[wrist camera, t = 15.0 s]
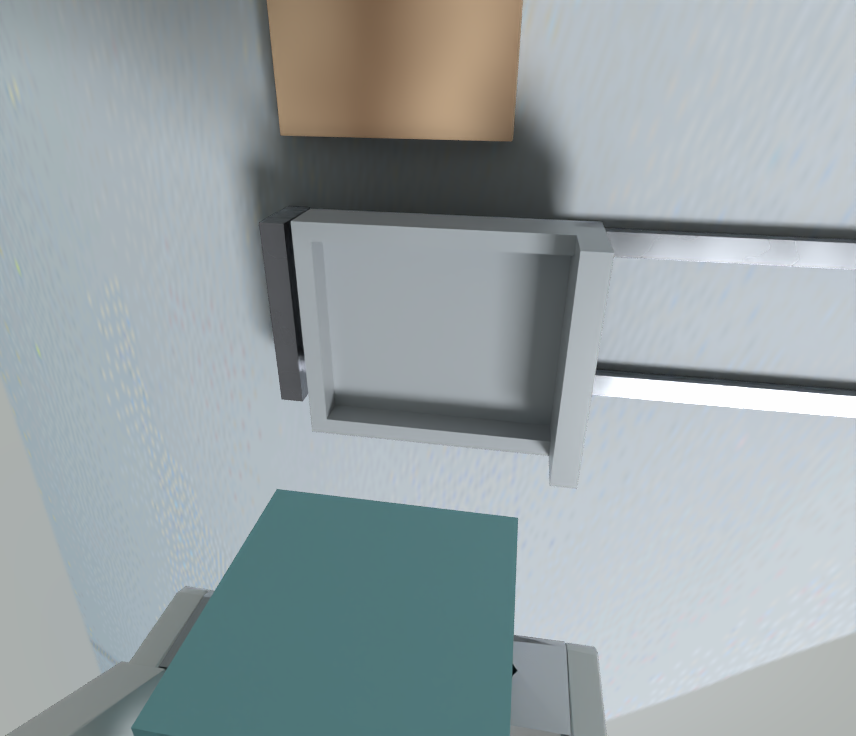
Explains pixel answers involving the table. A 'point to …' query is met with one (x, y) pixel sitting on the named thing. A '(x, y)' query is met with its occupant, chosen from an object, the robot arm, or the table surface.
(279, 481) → the table surface
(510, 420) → the grey sliding tray
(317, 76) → the pad
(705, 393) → the rails
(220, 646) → the block
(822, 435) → the table surface
